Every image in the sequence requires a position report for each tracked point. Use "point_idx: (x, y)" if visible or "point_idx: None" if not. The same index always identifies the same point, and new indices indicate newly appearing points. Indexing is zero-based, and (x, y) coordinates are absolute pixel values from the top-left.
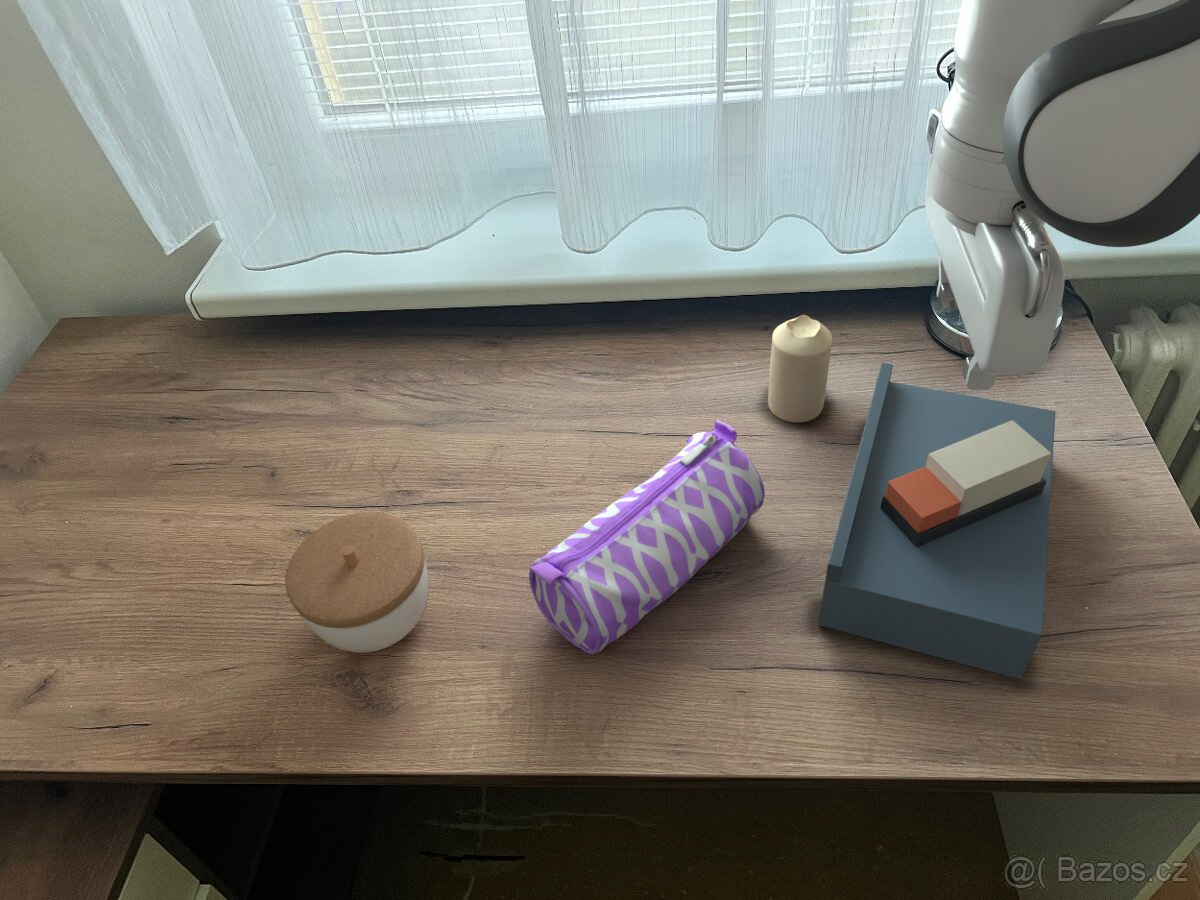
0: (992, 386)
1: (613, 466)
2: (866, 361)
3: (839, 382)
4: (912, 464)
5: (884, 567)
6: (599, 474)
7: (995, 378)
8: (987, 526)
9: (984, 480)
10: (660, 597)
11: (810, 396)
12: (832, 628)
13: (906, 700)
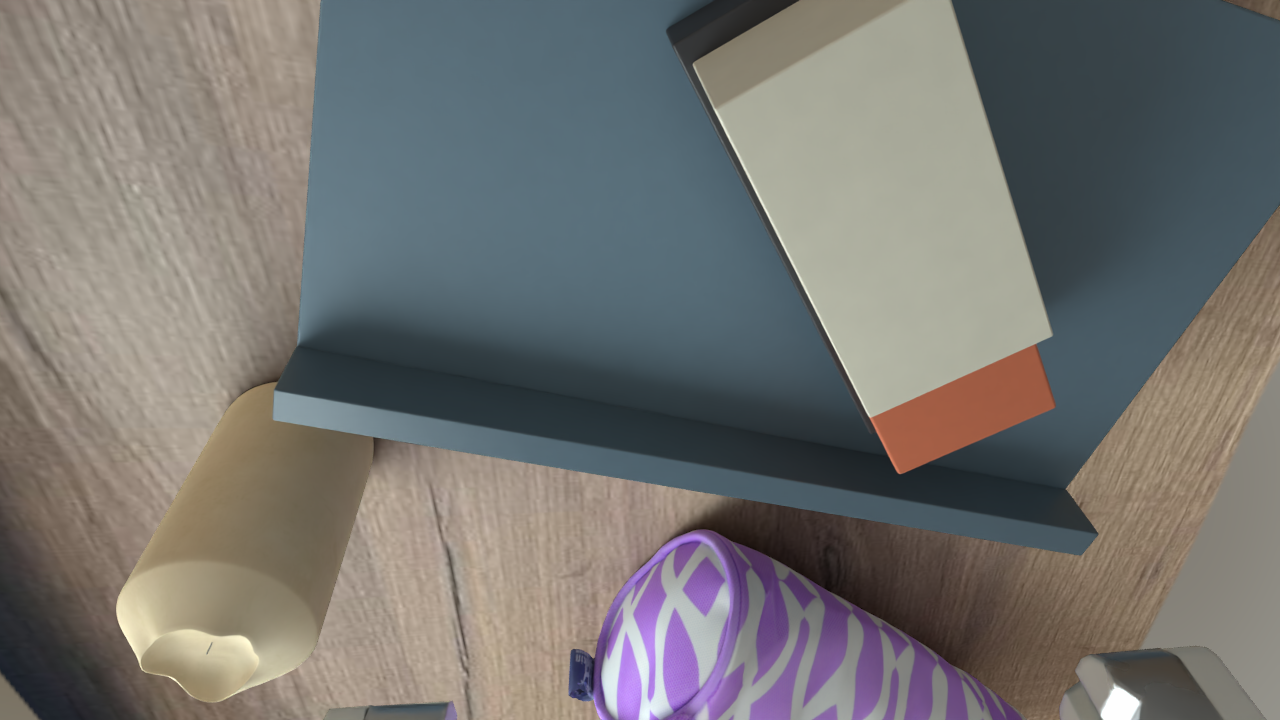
0: (1211, 651)
1: (562, 701)
2: (27, 260)
3: (167, 337)
4: (694, 314)
5: None
6: (585, 714)
7: (1252, 701)
8: None
9: (1029, 272)
10: (964, 684)
11: (342, 474)
12: None
13: None
